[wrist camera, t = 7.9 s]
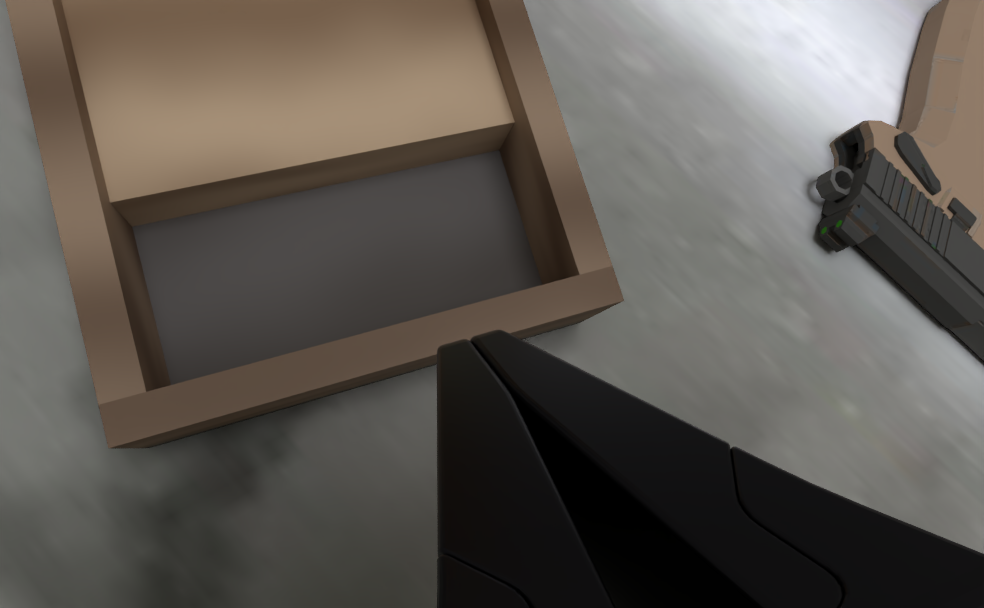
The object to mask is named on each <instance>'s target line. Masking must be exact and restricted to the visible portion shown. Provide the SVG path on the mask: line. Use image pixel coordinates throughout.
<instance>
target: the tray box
mask: <svg viewBox="0 0 984 608" xmlns="http://www.w3.org/2000/svg"><path fill="white" fill-rule="evenodd" d="M5 1H6V5H7V9H8V14H9V18H10V22H11V27H12V31H13V36H14V40H15V44H16V49H17V53H18V57H19V62H20V66H21V70H22V75H23V79H24V83H25V88H26V92H27V96H28V101H29V105H30V109H31V114H32V118H33V122H34V127H35V131H36V135H37V140H38V144H39V148H40V153H41V157H42V161H43V166H44V170H45V174H46V179H47V183H48V187H49V192H50V196H51V201H52V205H53V209H54V214H55V218H56V222H57V227H58V231H59V235H60V240H61V244H62V248H63V253H64V257H65V261H66V266H67V270H68V274H69V279H70V283H71V287H72V292H73V296H74V300H75V305H76V309H77V313H78V318H79V322H80V326H81V331H82V335H83V339H84V344H85V348H86V352H87V357H88V361H89V366H90V370H91V374H92V379H93V383H94V387H95V392H96V396H97V400H98V405H99V409H100V413H101V418H102V422H103V426H104V431H105V435H106V439H107V444H108V448H150V447H154V446H157V445H161V444H164V443H168V442H171V441H174V440H178V439H181V438H185V437H188V436H192V435H195V434H199V433H202V432H205V431H209V430H212V429H216V428H219V427H223V426H226V425H229V424H233V423H236V422H240V421H243V420H247V419H250V418H254V417H257V416H260V415H264V414H267V413H271V412H274V411H278V410H281V409H285V408H288V407H291V406H295V405H298V404H302V403H305V402H309V401H312V400H315V399H319V398H322V397H326V396H329V395H333V394H336V393H340V392H343V391H346V390H350V389H353V388H357V387H360V386H364V385H367V384H370V383H374V382H377V381H381V380H384V379H388V378H391V377H395V376H398V375H401V374H405V373H408V372H412V371H415V370H419V369H422V368H425V367H429V366H432V365H436V364H437V349H438V348H439V347H440V346H441V345H444V344H448V343H451V342H455V341H458V340H462V339H467V340H469V341H470V340H471V338H472V337H473V336H476V335H480V334H483V333H487V332H490V331H494V330H503V331H505V332H507V333H509V334H511V335H513V336H515V337H517V338H519V339H521V340H522V339H525V338H529V337H532V336H535V335H539V334H542V333H546V332H549V331H553V330H556V329H560V328H563V327H566V326H570V325H573V324H577V323H580V322H582V321H584V320H586V319H588V318H590V317H592V316H594V315H596V314H598V313H600V312H602V311H604V310H606V309H608V308H610V307H612V306H614V305H616V304H618V303H620V302H622V301H624V299H623V296H622V293H621V290H620V287H619V284H618V281H617V278H616V275H615V272H614V269H613V266H612V263H611V260H610V257H609V254H608V251H607V248H606V246H605V243H604V240H603V237H602V234H601V231H600V228H599V225H598V222H597V219H596V216H595V213H594V210H593V207H592V204H591V201H590V198H589V195H588V192H587V189H586V186H585V183H584V180H583V177H582V174H581V171H580V168H579V165H578V162H577V159H576V156H575V154H574V151H573V148H572V145H571V142H570V139H569V136H568V133H567V130H566V127H565V124H564V121H563V118H562V115H561V112H560V109H559V106H558V103H557V100H556V97H555V94H554V91H553V88H552V85H551V82H550V79H549V76H548V73H547V70H546V67H545V64H544V62H543V59H542V56H541V53H540V50H539V47H538V44H537V41H536V38H535V35H534V32H533V29H532V26H531V23H530V20H529V17H528V14H527V11H526V8H525V5H524V2H523V0H5Z"/></svg>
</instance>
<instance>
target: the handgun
mask: <svg viewBox="0 0 984 608" xmlns="http://www.w3.org/2000/svg"><path fill="white" fill-rule="evenodd" d="M852 145H853V146H855V147H857V148H858V149H859V151H858V152H856V151H855V149H854V147H853V146H852ZM830 148H831V151H832V153H833V156H834V169H832V170H830V171H828V172H826V173H824V174H823V175H821V176H819V177H818V179H817V184H816V188H817V190H818V192H819V194H820V196H821V197H822V198H824V199H826V200H825V203H824V206H823V210H822V213H823V214H824V215H825V216H826V218H823V219H822V220H821V222H820V223H819V227H820V231H819V233H820V237H821V238H822V239H823V240H824V241H825V242H826V243H827V244H828V245H829V246H830V247H831V248H832V249H833V250H834V251H836V252H839V251H841V250H844V249H845V248H846V247H848V246H854V245H857V246H858V247H859V248H860V249H861V250H862V251H863V252H864V253H866V254H867V255H868V256H869V257H870V258H871V259H872V260H873V261H874V262H875V263H876V264H877V265H878V266H880V267H881V268H882V269H883V270H884V271H885V272H886V273H887V274H888V275H889V276H890V277H891V278H892V279H894V280H895V281H896V282H897V283H898V284H899V285H900V286H901V287H902V288H903V289H904V290H905V291H906V292H908V293H909V294H910V295H911V296H912V297H913V298H914V299H915V300H916V301H917V302H918V303H919V304H920V305H922V306H923V307H924V308H925V309H926V310H927V311H928V312H929V313H930V314H931V315H932V316H933V317H934V318H935V319H937V320H938V321H939V322H940V323H941V324H942V325H943V326H945V327H946V328H948V329H950V330H951V331H952V332H953V333H954V334H955V335H956V336H958V337H959V338H960V339H961V340H962V341H963V342H964V343H965V344H966V345H967V346H968V347H969V348H970V349H971V350H973V351H974V352H975V353H976V354H977V355H978V356H979V357H980V358H981V359H982V360H983V361H984V0H942V1H941V2H939V3H938V4H937V5H935V6H934V7H932V8H931V9H930V10H929V12H928V15H927V17H926V20H925V22H924V25H923V28H922V31H921V35H920V39H919V42H918V46H917V50H916V53H915V57H914V60H913V64H912V68H911V71H910V77H909V82H908V87H907V93H906V98H905V104H904V109H903V115H902V120H901V122H900V125H899V128H898V129H897V128H895V127H893V126H891V125H889V124H886V123H884V122H882V121H863V122H861V123H859V124H858V125H856V126H854V127H853V128H851V129H849V130H848V131H846V132H844V133H843V134H841V135H840V136H839V137H838V138H836V139H835V140H834V141H833V142H832V143H831V144H830Z"/></svg>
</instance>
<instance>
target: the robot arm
mask: <svg viewBox="0 0 984 608" xmlns="http://www.w3.org/2000/svg"><path fill="white" fill-rule="evenodd" d="M437 495H438V560H437V608H984V554H983V553H980V552H978V551H975V550H973V549H970V548H968V547H965V546H963V545H960V544H958V543H955V542H953V541H950V540H948V539H945V538H943V537H940V536H938V535H935V534H933V533H931V532H928V531H926V530H923V529H921V528H918V527H916V526H913V525H911V524H908V523H906V522H903V521H901V520H898V519H896V518H893V517H891V516H888V515H886V514H883V513H881V512H879V511H876V510H874V509H871V508H869V507H866V506H864V505H861V504H859V503H857V502H854V501H852V500H850V499H847V498H845V497H843V496H840V495H838V494H836V493H833V492H831V491H828V490H826V489H824V488H821V487H819V486H817V485H814V484H812V483H810V482H808V481H806V480H804V479H801V478H799V477H797V476H795V475H793V474H791V473H789V472H787V471H785V470H782V469H780V468H778V467H776V466H774V465H772V464H770V463H768V462H766V461H763V460H761V459H759V458H757V457H755V456H754V455H752V454H750V453H748V452H746V451H744V450H742V449H740V448H738V447H732V448H731V450H730V445H729V444H728V443H727V442H725V441H723V440H721V439H719V438H717V437H715V436H713V435H711V434H709V433H707V432H705V431H703V430H701V429H699V428H697V427H695V426H693V425H691V424H689V423H687V422H685V421H683V420H681V419H679V418H677V417H675V416H673V415H671V414H669V413H667V412H665V411H663V410H661V409H659V408H657V407H655V406H653V405H651V404H649V403H647V402H645V401H643V400H641V399H639V398H637V397H635V396H633V395H631V394H629V393H627V392H625V391H623V390H621V389H619V388H617V387H615V386H613V385H611V384H609V383H607V382H605V381H603V380H601V379H599V378H597V377H595V376H593V375H591V374H589V373H587V372H585V371H583V370H581V369H579V368H577V367H575V366H573V365H571V364H569V363H567V362H565V361H563V360H561V359H559V358H557V357H555V356H553V355H551V354H549V353H547V352H545V351H543V350H541V349H539V348H537V347H535V346H533V345H531V344H529V343H527V342H525V341H523V340H521V339H519V338H517V337H515V336H513V335H511V334H509V333H507V332H505V331H503V330H494V331H490V332H487V333H483V334H480V335H476V336H473V337H472V338H471V340H470V341H469V340H467V339H462V340H458V341H455V342H451V343H448V344H444V345H441V346H440V347H439V348H438V349H437Z"/></svg>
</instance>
